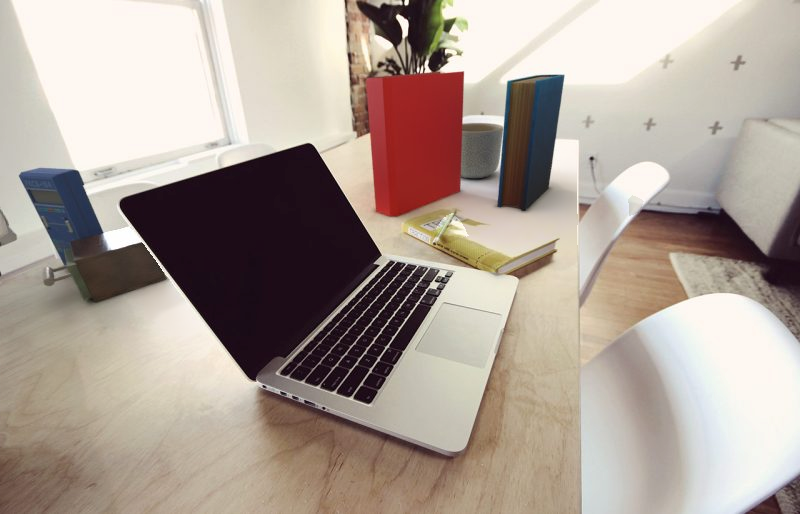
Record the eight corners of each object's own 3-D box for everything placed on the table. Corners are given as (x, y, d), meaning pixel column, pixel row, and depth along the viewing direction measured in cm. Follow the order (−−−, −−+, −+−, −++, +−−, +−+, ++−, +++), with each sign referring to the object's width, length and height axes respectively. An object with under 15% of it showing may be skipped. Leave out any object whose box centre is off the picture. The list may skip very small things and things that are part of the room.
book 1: (439, 186, 118) (440, 71, 103) (460, 191, 113) (464, 71, 98) (373, 210, 102) (362, 78, 87) (393, 217, 96) (386, 78, 82)
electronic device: (63, 269, 78) (13, 173, 69) (87, 258, 83) (44, 166, 73) (97, 274, 76) (50, 175, 67) (120, 262, 80) (80, 168, 71)
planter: (438, 173, 131) (438, 126, 124) (477, 165, 138) (479, 121, 131) (468, 185, 118) (470, 133, 111) (510, 176, 125) (514, 127, 118)
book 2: (522, 182, 119) (533, 74, 105) (551, 185, 114) (567, 73, 100) (492, 206, 101) (500, 80, 87) (525, 211, 97) (539, 80, 83)
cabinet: (95, 302, 67) (74, 260, 63) (88, 281, 74) (69, 241, 70) (166, 278, 73) (151, 239, 69) (154, 261, 80) (140, 224, 76)
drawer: (55, 309, 64) (36, 274, 61) (53, 288, 70) (35, 256, 67) (151, 278, 72) (139, 246, 69) (141, 261, 78) (129, 232, 75)
